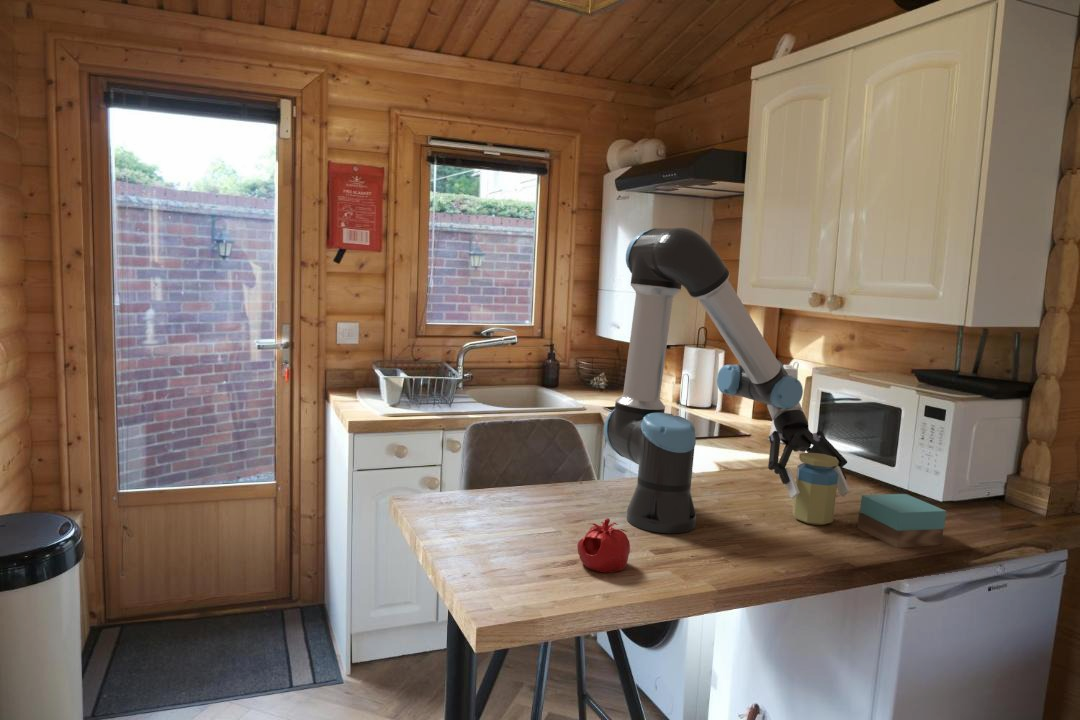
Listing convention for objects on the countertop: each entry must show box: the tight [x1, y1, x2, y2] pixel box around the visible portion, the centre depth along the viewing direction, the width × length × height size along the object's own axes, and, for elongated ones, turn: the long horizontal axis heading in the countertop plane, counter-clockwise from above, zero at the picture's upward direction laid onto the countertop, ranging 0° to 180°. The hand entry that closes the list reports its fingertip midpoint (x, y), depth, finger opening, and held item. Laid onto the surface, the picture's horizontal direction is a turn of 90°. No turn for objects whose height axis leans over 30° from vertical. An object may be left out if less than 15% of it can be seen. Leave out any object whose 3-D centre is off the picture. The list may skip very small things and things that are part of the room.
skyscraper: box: [764, 361, 800, 445], centre depth 255 cm, size 8×8×28 cm
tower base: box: [857, 512, 944, 549], centre depth 167 cm, size 12×12×4 cm
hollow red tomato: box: [577, 517, 631, 574], centre depth 140 cm, size 10×10×9 cm
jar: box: [792, 452, 839, 526], centre depth 174 cm, size 9×9×15 cm
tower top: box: [859, 493, 947, 531], centre depth 167 cm, size 12×12×4 cm
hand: (820, 494), depth 172 cm, fingers open, 13 cm apart
